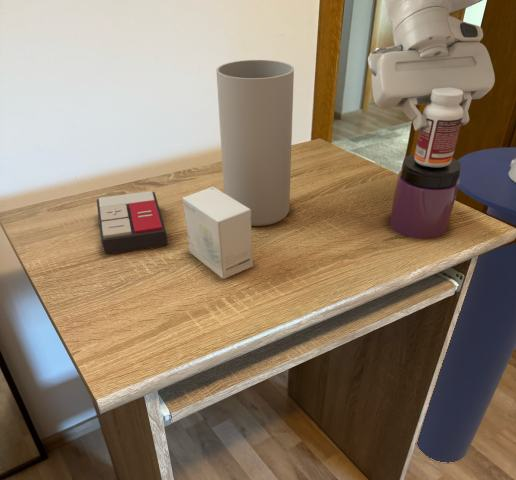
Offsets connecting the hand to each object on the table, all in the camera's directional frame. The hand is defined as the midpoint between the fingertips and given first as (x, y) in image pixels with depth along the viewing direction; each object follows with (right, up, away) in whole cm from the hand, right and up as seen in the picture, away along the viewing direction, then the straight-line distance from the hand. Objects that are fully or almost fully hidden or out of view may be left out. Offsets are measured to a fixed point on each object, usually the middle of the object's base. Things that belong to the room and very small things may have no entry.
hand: (442, 126), depth 78 cm
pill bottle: (0, -4, +5) cm, 6 cm away
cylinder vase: (-30, -9, +17) cm, 36 cm away
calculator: (-53, -14, +12) cm, 56 cm away
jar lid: (0, -5, +5) cm, 7 cm away
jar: (0, -13, +12) cm, 18 cm away
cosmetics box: (-36, -21, +4) cm, 42 cm away
